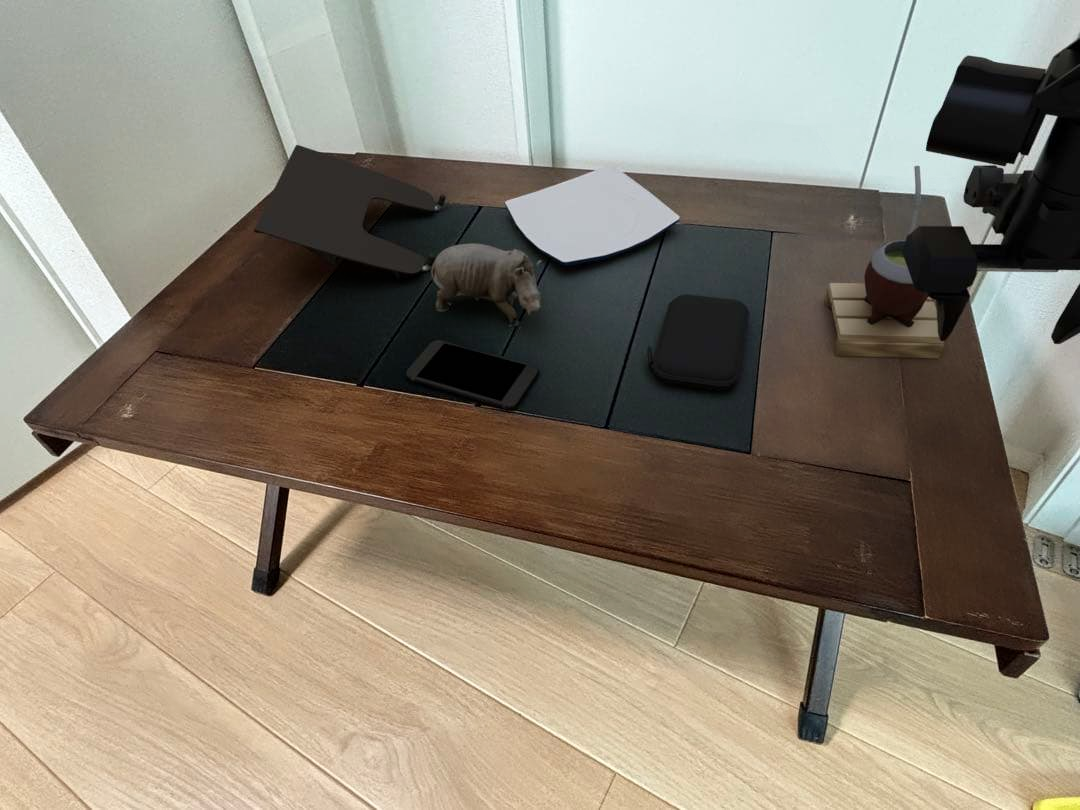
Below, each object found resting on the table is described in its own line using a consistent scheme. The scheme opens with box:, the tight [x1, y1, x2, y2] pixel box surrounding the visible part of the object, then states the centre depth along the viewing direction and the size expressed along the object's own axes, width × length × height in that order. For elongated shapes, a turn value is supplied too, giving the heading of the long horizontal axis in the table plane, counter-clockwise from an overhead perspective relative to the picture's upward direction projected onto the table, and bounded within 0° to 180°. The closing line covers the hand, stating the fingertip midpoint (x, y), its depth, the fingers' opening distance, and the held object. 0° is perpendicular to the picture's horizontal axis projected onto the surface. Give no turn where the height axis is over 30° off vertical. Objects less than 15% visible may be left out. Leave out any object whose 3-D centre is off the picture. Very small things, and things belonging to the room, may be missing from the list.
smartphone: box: [405, 339, 540, 410], centre depth 84 cm, size 7×15×1 cm, turn 64°
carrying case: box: [646, 293, 750, 391], centre depth 83 cm, size 11×3×15 cm
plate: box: [504, 164, 681, 267], centre depth 103 cm, size 20×20×3 cm
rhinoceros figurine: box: [430, 242, 543, 328], centre depth 90 cm, size 8×14×15 cm
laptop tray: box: [253, 144, 447, 279], centre depth 104 cm, size 23×23×9 cm
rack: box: [823, 282, 946, 360], centre depth 83 cm, size 11×10×3 cm
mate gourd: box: [863, 165, 929, 327], centre depth 76 cm, size 8×8×15 cm
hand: (997, 339), depth 63 cm, fingers open, 9 cm apart
